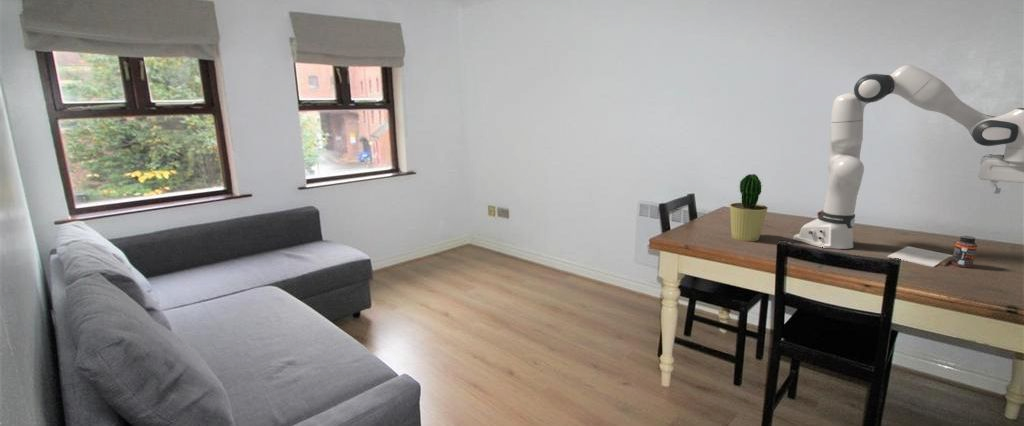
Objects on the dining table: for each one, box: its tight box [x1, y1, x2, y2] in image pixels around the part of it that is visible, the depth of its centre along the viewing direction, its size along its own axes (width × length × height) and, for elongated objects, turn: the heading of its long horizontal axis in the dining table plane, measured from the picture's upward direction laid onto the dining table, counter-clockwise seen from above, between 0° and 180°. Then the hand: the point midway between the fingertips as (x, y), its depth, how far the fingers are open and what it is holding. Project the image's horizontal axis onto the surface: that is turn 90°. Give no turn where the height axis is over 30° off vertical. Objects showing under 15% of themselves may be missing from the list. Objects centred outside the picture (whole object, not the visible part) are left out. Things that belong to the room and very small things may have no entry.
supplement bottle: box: [951, 235, 978, 269], centre depth 181 cm, size 6×6×11 cm
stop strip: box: [938, 256, 953, 267], centre depth 186 cm, size 2×12×1 cm, turn 124°
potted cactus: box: [729, 173, 768, 242], centre depth 217 cm, size 15×15×30 cm
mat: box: [886, 245, 953, 268], centre depth 193 cm, size 15×22×1 cm, turn 124°
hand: (1014, 195), depth 170 cm, fingers open, 8 cm apart
